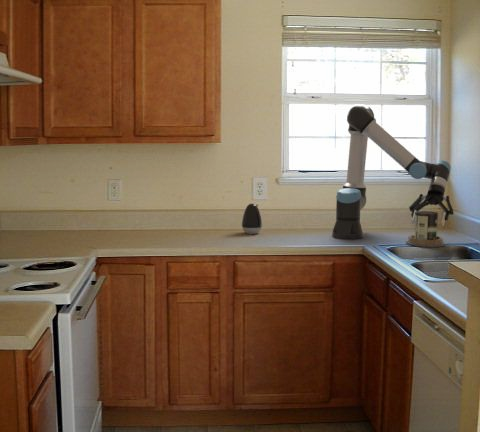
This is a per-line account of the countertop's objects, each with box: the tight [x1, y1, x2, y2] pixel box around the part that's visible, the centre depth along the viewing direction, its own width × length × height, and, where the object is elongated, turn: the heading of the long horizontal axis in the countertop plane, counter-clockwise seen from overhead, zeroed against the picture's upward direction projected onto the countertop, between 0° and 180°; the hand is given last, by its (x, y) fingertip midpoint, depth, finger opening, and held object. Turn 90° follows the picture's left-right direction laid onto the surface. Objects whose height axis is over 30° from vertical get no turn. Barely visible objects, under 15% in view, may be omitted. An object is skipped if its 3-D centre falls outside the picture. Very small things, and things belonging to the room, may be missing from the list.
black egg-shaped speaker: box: [241, 203, 263, 235], centre depth 337 cm, size 10×10×15 cm
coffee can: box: [414, 210, 439, 240], centre depth 310 cm, size 10×10×14 cm
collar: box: [406, 234, 445, 249], centre depth 310 cm, size 17×17×3 cm
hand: (427, 223), depth 309 cm, fingers open, 13 cm apart
